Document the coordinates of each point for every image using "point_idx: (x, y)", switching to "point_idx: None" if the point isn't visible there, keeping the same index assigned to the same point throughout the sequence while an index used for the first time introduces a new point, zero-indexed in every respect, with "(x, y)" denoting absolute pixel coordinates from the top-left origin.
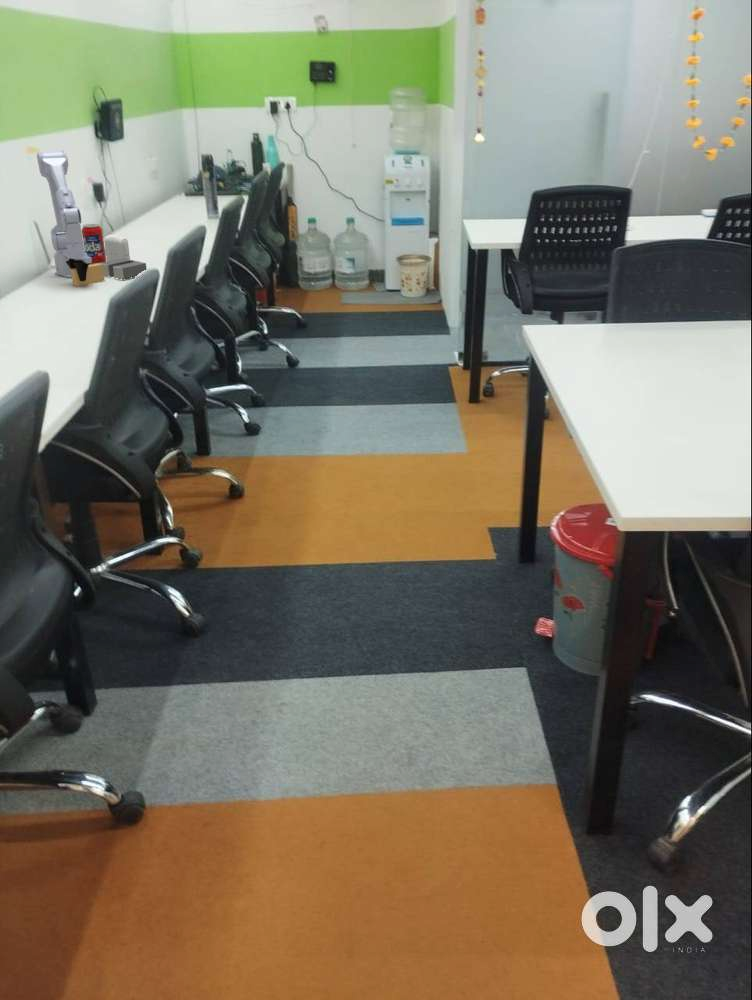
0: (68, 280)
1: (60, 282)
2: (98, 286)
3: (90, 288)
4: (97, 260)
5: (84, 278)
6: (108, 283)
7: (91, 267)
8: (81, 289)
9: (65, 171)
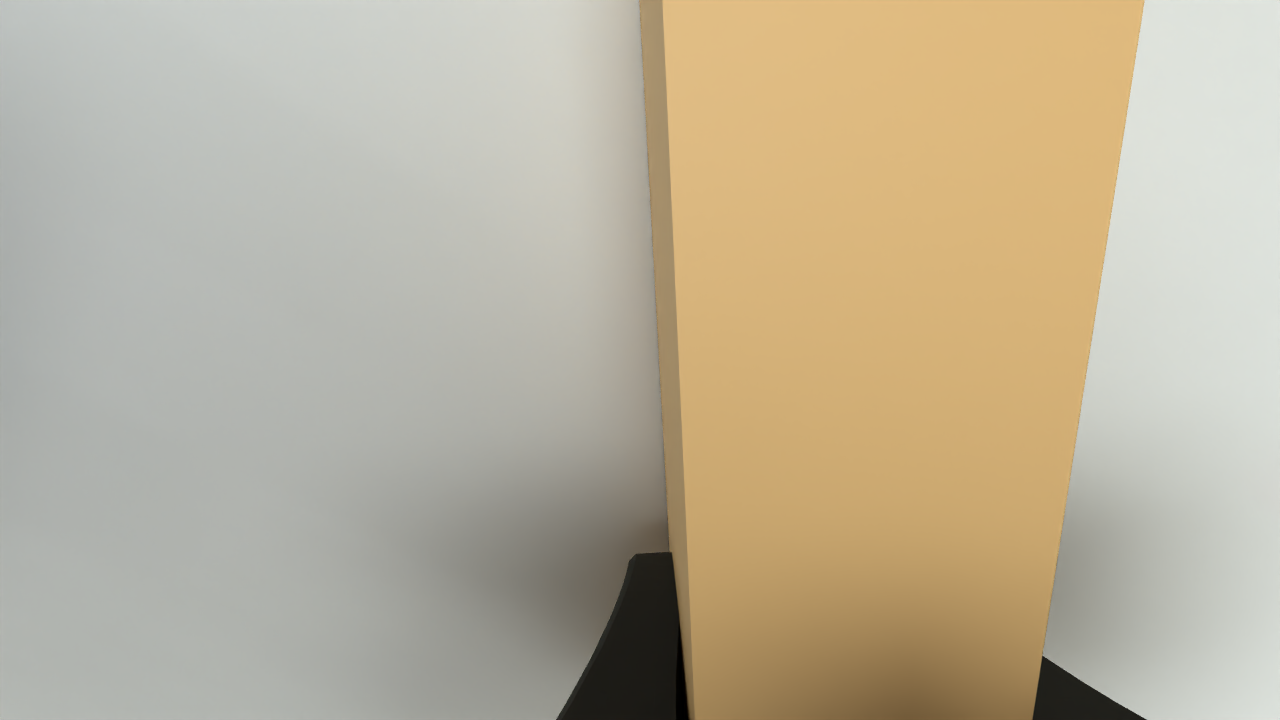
0: (202, 530)
1: (273, 701)
2: (1178, 385)
3: (1152, 576)
4: None
5: None
6: (1184, 41)
7: (1044, 431)
8: None
9: None
